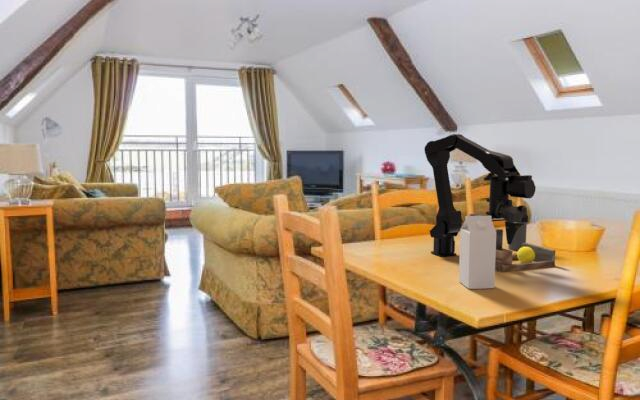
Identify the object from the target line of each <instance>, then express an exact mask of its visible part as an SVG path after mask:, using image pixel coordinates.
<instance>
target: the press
mask: <svg viewBox="0 0 640 400" xmlns="http://www.w3.org/2000/svg"><path fill="white" fill-rule="evenodd" d="M522 247H530V248H532V250H533V251H534V252H535V259H534V260H533V261H532V262H529V263H522V262H521V263H512V264H510V265H503V261H499V260H496V259H495V271H496V270H497V272H499V271H500V272H499V273H502V272H501V271H503V272H511V270H513V271H519V270H520V269H522V270H527V269H528V270H530V268H531V269H539V268H546V267H547V268H548V267H555V266H556V265H555V264H556V249H552V248H548V247H544V246H540V245H535V244H531V243H528V242H526V243H522ZM522 247H521V248H522ZM515 260H518V257H517V253H512V261H515Z"/></svg>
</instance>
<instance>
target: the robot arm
mask: <svg viewBox="0 0 640 400" xmlns="http://www.w3.org/2000/svg"><path fill="white" fill-rule="evenodd" d="M455 150H459V151H460V152H462V153H464V154H466V155H467V156H469V157H471V158H472V159H474V160H477V161H478V162H480V163H481V165H482V166H483V168H484V169H485V170H487V171H488V172H489V173H488V174H487V175H486V176H485V177H484V178H483V181H487V182H488V181H489V197H487V198H486V202H487V203H488V210H486V211H485V213H470V214H469V215H468V216H492V217H491V220H492V222H502V221H504V226H505V227H504V228H505V235H506V236H505V238H506V242H507V245H508V246H509V245H510V244H511V243H512V240H513V238H514V236H515V233H516V231H517V229H518V228H519V227H520V226H522V225H524V224H525V223H522V222H527V223H528V222H529V215H528V214H527V213H528V211H527V210H528V209H527V208H528V207H527V206H526V205H523V204H522V205H518V206H515V205H513V200H512V199H510V197H511V198H521V199H532V198H533V197H534V195H535V193H536V185H535V182H534V180H533V175H531V174H527V175H521V174H520V172H519V170H518V169H517V168H516V165H515V163H514V159H513V157H512V156H511V155H509V154H505V153H503V152H498V151H494V150H490V149H488V148H485V147H484V146H482V145H480V144H478V143H477V142H475V141H473V140H471V139H469V138H467V137H465V136H464V135H463V134H461V133H453V134H452V133H451V134H450V135H448V136H446V137H442V138H438V139H436V140H429V141H428V142H427V143H426V144H425V146H424V154H425V158H426V161H427V162H428V163H429V165H430V166H431V168H432V172H433V177H434V178H433V179H434V184H435V192H436V198H437V205H438V210H437V214H436V216H435V224H434V226H432V228H431V229H430V230H429V234H430V238H433V250H432V251H430V253H431V254H433V255H436V256H439V257H449V256H457V253H456V252H455V251H456V249H455V248H456V241H455V237H458V235H459V233H460V229H461V227H462V225H463V223H464V221H463V218H462V212H461V210H457V208H455V206H454V202H453V196H452V195H453V194H452V188H451V182H450V176H449V169H448V165H449V161H450V157H451V152H453V151H455Z"/></svg>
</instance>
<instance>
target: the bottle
mask: <svg viewBox="0 0 640 400" xmlns="http://www.w3.org/2000/svg"><path fill="white" fill-rule="evenodd" d="M522 223H525V224H524V225H522V226H520V227H519V228H518V229H517V231H516V233H515V236H514V238H513V240H512V243H511V244H510V245H509V244H508V246H507V247H508V248H507V249H508V250H511V251H515V252H516V251H517V252H518V250H519V249H520V248H521V247H522V243H527V227H528V226H527V225H528V222H522Z"/></svg>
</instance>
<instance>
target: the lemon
mask: <svg viewBox="0 0 640 400" xmlns="http://www.w3.org/2000/svg"><path fill="white" fill-rule="evenodd" d="M516 254H517V257H518V259H517V260H518V261H519V262H521V263H529V262H534V261H533V260H534V259H535V252H534V251H533V250H532V248H530V247H522V248H520V249H519V250H518V251H517V252H516Z"/></svg>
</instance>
